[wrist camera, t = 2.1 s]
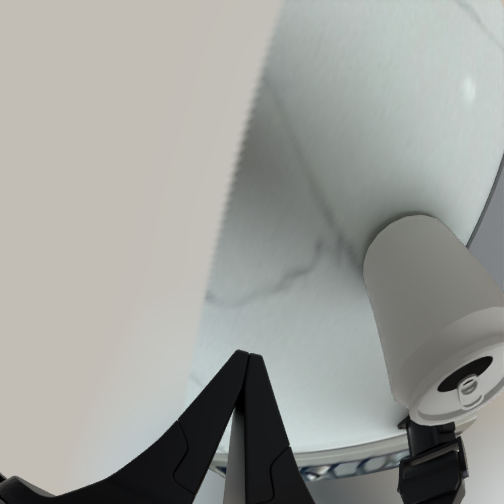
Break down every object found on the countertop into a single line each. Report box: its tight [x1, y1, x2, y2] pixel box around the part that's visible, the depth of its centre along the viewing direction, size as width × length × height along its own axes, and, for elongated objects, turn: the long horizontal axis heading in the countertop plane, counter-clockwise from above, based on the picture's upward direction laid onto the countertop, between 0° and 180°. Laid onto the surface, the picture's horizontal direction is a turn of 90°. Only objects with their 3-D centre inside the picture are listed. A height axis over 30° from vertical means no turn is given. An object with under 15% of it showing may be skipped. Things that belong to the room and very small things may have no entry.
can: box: [363, 215, 504, 426], centre depth 14 cm, size 8×8×12 cm
